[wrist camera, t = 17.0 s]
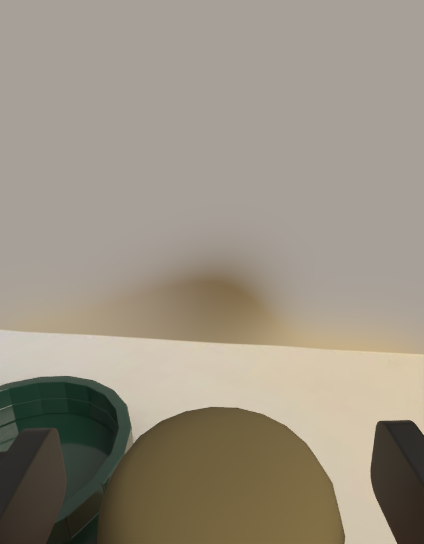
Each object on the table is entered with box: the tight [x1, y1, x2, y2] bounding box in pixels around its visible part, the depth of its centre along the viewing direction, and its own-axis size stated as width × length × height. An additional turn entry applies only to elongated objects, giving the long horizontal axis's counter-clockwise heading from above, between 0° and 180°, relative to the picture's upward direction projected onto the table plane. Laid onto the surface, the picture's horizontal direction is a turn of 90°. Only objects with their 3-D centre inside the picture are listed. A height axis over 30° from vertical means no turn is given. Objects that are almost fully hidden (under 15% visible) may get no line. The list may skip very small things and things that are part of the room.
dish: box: [0, 376, 133, 544], centre depth 21 cm, size 13×13×3 cm
